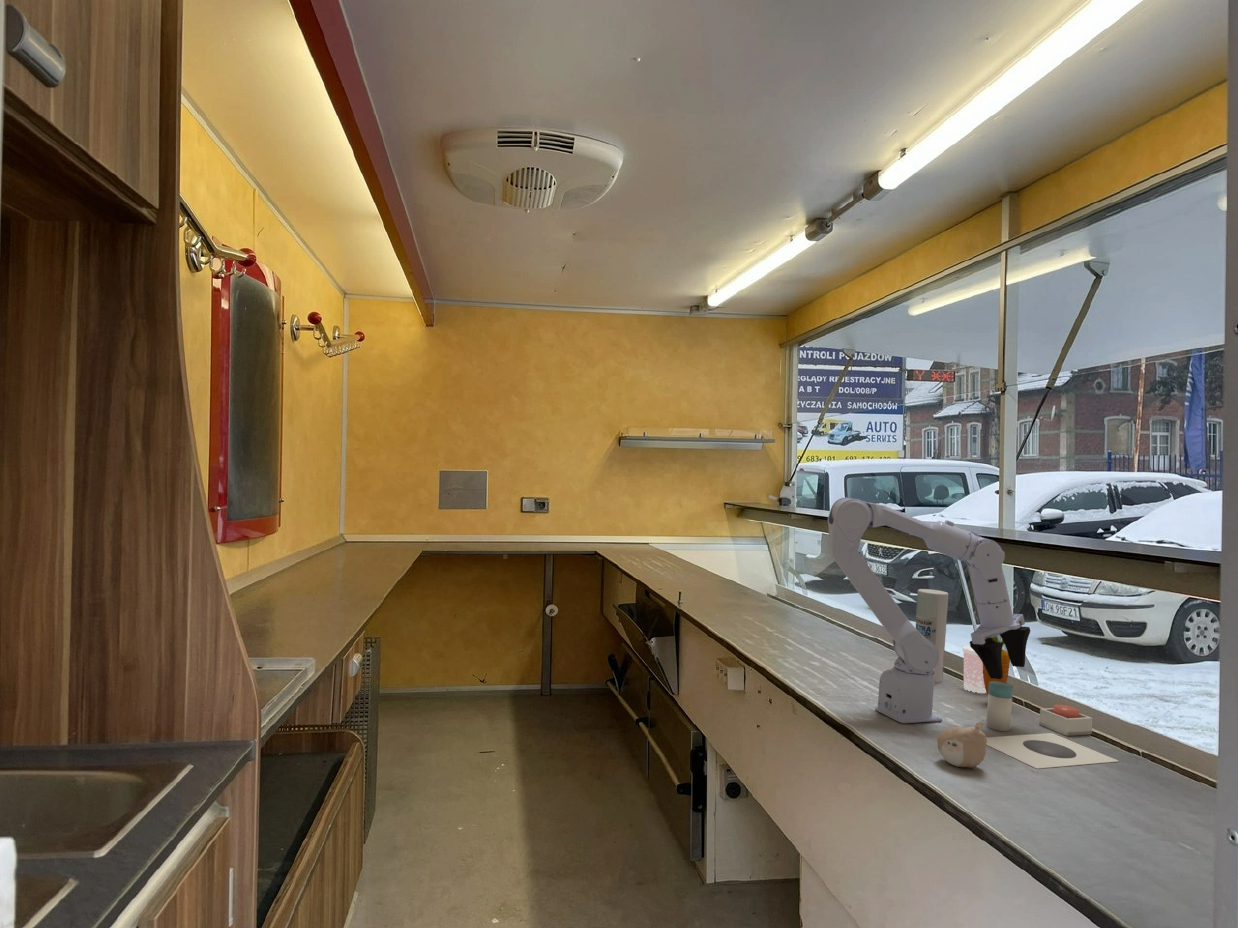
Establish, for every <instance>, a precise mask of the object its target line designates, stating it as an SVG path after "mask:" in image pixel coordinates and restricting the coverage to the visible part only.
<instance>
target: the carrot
mask: <svg viewBox="0 0 1238 928" xmlns="http://www.w3.org/2000/svg"><path fill="white" fill-rule="evenodd" d="M993 640H994V642H1000V643H1003V646H1004V645H1005V644H1004V642H1003V640H1002V639H1001V641H1000V640H999V638H998V635H997V636H995V637H993V638H992V641H993ZM1001 662H1002V670H1003V678H1002V679H993V678H990V676H989V674H988V672H987V670H986V668H985V666H984V664H983V679H984V685H985V689H986V692H987V693H986V694H987V696H988V689H989V682H990V681H997V682H1003V683H1007V681H1008V677H1009V671H1010V664H1011V662H1010V659H1009V656H1008V652H1007V650H1005V649H1004V648H1002V653H1001Z"/></svg>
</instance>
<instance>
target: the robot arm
mask: <svg viewBox="0 0 1238 928" xmlns="http://www.w3.org/2000/svg"><path fill="white" fill-rule="evenodd" d="M827 526H828V541H829V542H828V543H829V553H830V556H831V558H832V559H833V560H834V561H835V563H836V564H837V566H839V568H840V570H841V571H842V572H843V573H844V575H845V576H846V578H847V580H849V581H850V583H851V584H852V586H853V587H854V588H855V590H856V591H857V592H858V594H859V595H860V596H861V598H862V599H863V601H864V603H865V604H866V605H867V606H868V607H869V610H870V611H871V612H872V613H873V614H874V616H875V617H876V619H877V620H878V621H879V623H880V625H881V626H882V627H883V628H884V630H885V632H886V633H887V635H888V636H889V638H890V639H891V641H892V645H893V651H894V652H895V654H896V656H897V658H896V660H895V661H894V666H893V667H892V668H891V669H887V670H886V669H885V670H884V671H882V673H881V675H880V676H879V683H878V696H877V697H878V699H877V706H875V707H874V710H875V711H877V712H879V713H881V714H882V715H885V716H887V717H888V718H891V719H893V720H894V721H897V722H899V723H901V724H915V723H931V722H932V723H933V722H943V718H942V717H940V716H938V715H937V714H934V713H933V706H934V705H933V704H934V702H933V701H934V691H935V690H934V688H935V683H934V675H935V673H934V672H935V669H934V668H935V667H936V665H937V664H938V661H939V652H938V649H937V647H936V646H935V645H934V644H933V643H932V642H931V641H929V640H927V639H926V638H925V637H924V636H923V635H922V634H921V633H920V632H918V630H917V629H916V626H914V624H913V623H912V622H911V621H910V620H909V618H908V617H907V616H906V615H905V613H904V612H903V610H902V609H901V608H900V607H899V604H897V602H896V601H895V600H894V598H893V597H892V595H891V594H890V593H889V592H888V590H887V588H886V587H885V586H884V585H883V583H882V582H881V581H880V579H879V578H878V576H877V575H876V574H875V572H874V571H873V570H872V568H871V567H870V566H869V564H868V563H867V561H865V559H864V558H863V556H862V555H861V554H860V552H859V548H860V544H861V539H862V536H863V534H864V533H866V532H865V531H867V528H868V527H871V528H877V527H883V526H884V527H885V526H886V527H889V528H892V529H894V530H898V531H900V532H903V533H905V534H909V535H912V536H915V537H918V538H920V539H923V541H924V543H925V545H926V547H927V548H928V549H929V550H932V551H934V552H935V553H936V552H937V553H940V554H942V555H944V556H946V557H949V558H952V559H954V560H957V561H960V562H962V561H963V562H964V563H965V564H966V565H968V568H969V574H970V581H971V586H972V589H973V594H974V599H975V605H976V609H977V615H978V618H979V623H980V624H979V625H978V626H979V627H978V626H977V628H976V629H975V630H974V631H973V632H971V633H970V637H971V640H969V646H970V647H971V648H972V649H973V650H974V651H975V652H976V653H977V655H978V656H979V657H980V659H981V661H982V662H983V664H984V666H985V668H986V670H987V672H988V674H989V676H990V678H993V679H1002V678H1003V670H1002V662H1001V653H1002V649H1003V647H1004V645H1005V649H1006V651H1007V652H1008V656H1009V659H1010V664H1011V666H1012V667H1016V668H1024V667H1025V665H1026V664H1025V663H1026V653H1027V652H1026V651H1027V650H1026V649H1027V643H1028V639H1029V636H1030V633H1031V629H1030V626H1024V625H1026V623H1025V617H1024V614H1022V613H1021V614H1020V613H1013V612H1012V607H1011V602H1010V596H1009V592H1008V587H1007V583H1006V579H1005V578H1006V577H1005V575H1004V570H1003V563H1004V561H1005V559H1006V557H1005V555H1006V553H1005V551H1004V550H1003V549H1002V547H1001V545H1000V544H999V543H998V542H997V541H995V540H993V539H989V538H985V537H982V536H981V535H979V532H978V531H974V530H971V532H970V531H968V530H965V529H963V528H959V527H958V526H955V525H954V522H953V521H951V520H947V519H946V520H945V521H942V520H938V521H936V522H932V523H927V522H925V521H923V520H920V519H918V518H916V517H913V516H910V515H908V514H906V513H903V512H901V511H899V510H896V509H894V508H891V507H889V506H886V505H882V504H878V503H874V502H869V501H864V500H861V499H858V498H853V497H847V496H845V497H841V498H838V499H837V500H836V501H834V503H833V504H832V506H831V507H830V511H829V514H828V517H827ZM995 636H997V637H998V636H999V637H1000V638H1001V641H1002V640H1003V642H1004V645H1003V643H1001V641H1000V642H994V640H993V641H992V638H993V637H995Z"/></svg>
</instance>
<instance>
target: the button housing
mask: <svg viewBox="0 0 1238 928" xmlns="http://www.w3.org/2000/svg"><path fill="white" fill-rule="evenodd" d="M1038 721H1039V722H1038V723H1039V726H1041V727H1044V728H1047V729H1049V730H1052V731H1054V732H1056V733H1059V734H1061V735H1064V736H1067V737H1069V736H1070V737H1072V736H1084V735H1085V736H1087V735H1093V734H1092V732H1093V717H1091V716H1088V715H1085V714H1083V713H1080V712H1079V718H1069V719H1068V718H1065V717H1063V716H1060V715H1057V714H1055V713H1053V707H1049V708H1040V709H1039V720H1038Z"/></svg>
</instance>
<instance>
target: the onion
mask: <svg viewBox="0 0 1238 928" xmlns="http://www.w3.org/2000/svg"><path fill="white" fill-rule="evenodd" d="M984 725H986V723H985V722H984V720H982V721H978V722H976V723H975V725H972V726H953V727H948V728H947V729H945V730H944V731H942V732H940V734H939V735H938V737H937V748H938V751H939V753H940V755H941V756H942V757H943V759H945V761H946V762H948V763H949V764H950V765H952V766H955V767H958V768H970V769H971V768H972V769H973V768H975V767H977V766H979V765H980V764H981V763H982V762H983V761H984V759H985V757H986V752H987V750H986V749H987V745H986V743H987V739H986V738H987V737H986V734H985V733H984V732H983V731H982V727H983V726H984Z"/></svg>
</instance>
